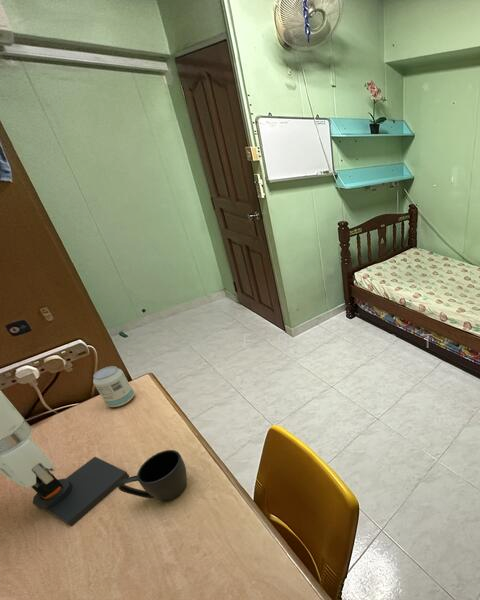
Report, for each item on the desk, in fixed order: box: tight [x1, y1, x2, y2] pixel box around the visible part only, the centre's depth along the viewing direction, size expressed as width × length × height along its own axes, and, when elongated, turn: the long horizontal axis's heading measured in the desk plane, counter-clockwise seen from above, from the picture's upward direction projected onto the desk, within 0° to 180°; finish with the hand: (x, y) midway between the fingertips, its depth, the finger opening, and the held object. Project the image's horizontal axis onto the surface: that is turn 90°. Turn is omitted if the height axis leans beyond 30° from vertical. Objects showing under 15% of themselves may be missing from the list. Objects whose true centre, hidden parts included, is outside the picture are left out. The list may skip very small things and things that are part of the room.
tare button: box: [43, 486, 62, 499], centre depth 72 cm, size 3×3×2 cm
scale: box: [32, 456, 130, 527], centre depth 74 cm, size 12×12×4 cm
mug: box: [117, 449, 187, 503], centre depth 72 cm, size 8×12×10 cm
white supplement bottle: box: [92, 365, 135, 408], centre depth 97 cm, size 7×7×12 cm
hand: (50, 490), depth 71 cm, fingers closed
